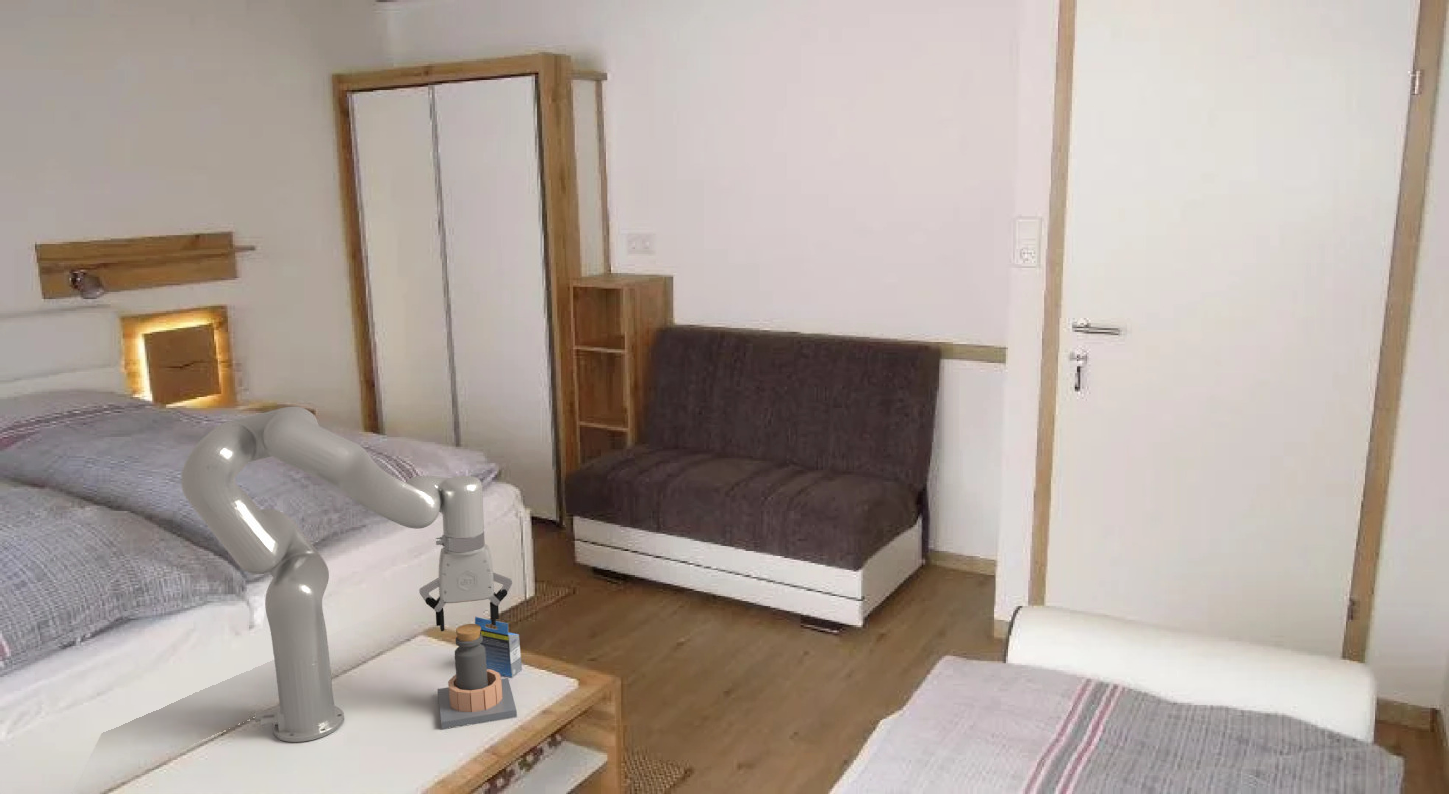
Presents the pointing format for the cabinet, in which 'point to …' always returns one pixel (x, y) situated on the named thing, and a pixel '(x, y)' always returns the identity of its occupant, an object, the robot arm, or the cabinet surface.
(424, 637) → the cabinet surface
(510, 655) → the label tape box
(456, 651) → the bottle
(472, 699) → the holder
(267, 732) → the cabinet surface
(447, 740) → the cabinet surface
